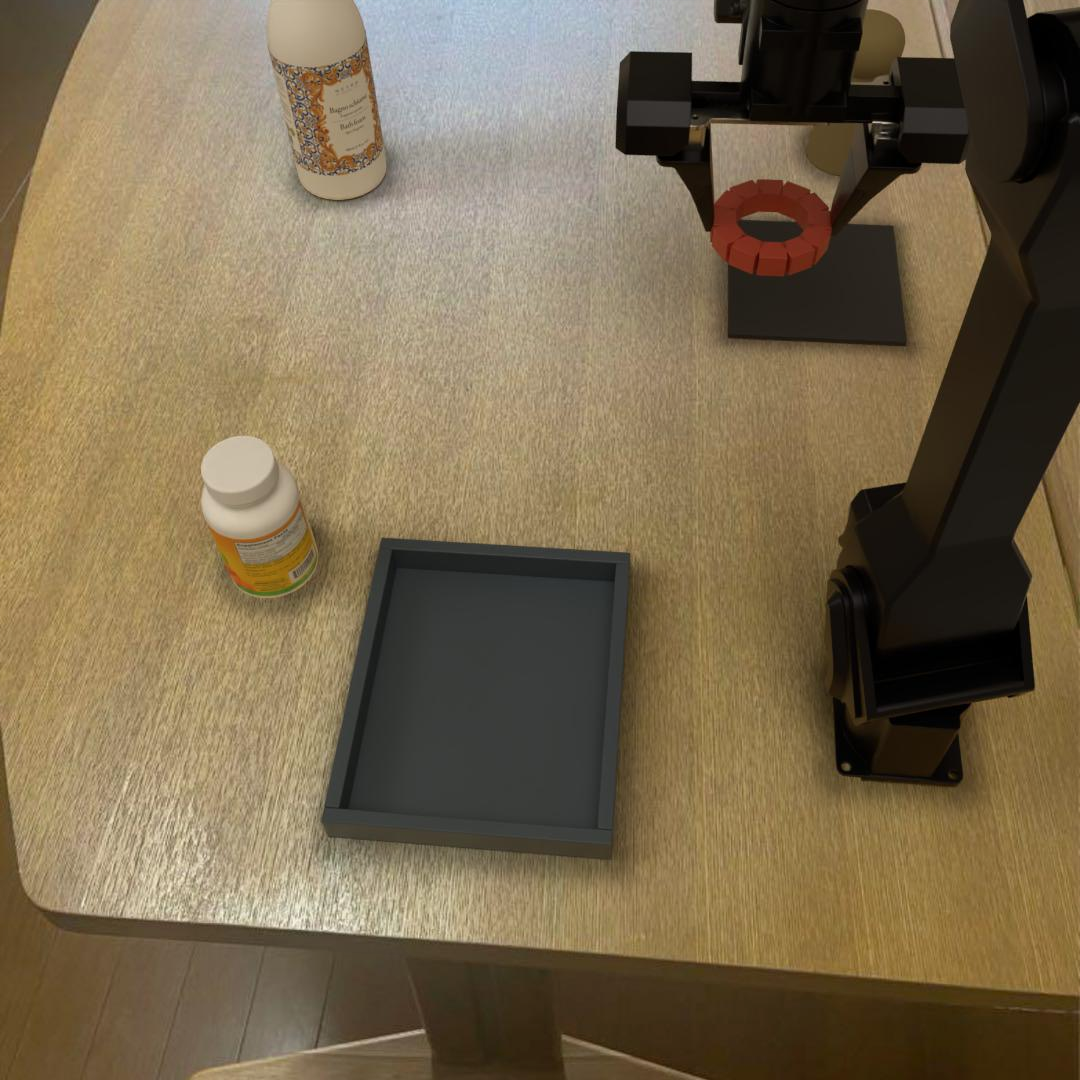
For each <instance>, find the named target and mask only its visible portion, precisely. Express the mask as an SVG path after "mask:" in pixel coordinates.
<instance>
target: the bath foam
mask: <svg viewBox="0 0 1080 1080" xmlns="http://www.w3.org/2000/svg"><path fill="white" fill-rule="evenodd" d="M265 26H266V27H265V28H266V30H265V31H266V32H265V33H266V41H267V42H266V43H267V50H268V54H269V58H270V62H271V66H272V71H273V75H274V79H275V83H276V87H277V92H278V97H279V100H280V105H281V109H282V113H283V119H284V121H285V126H286V130H287V131H286V132H287V134H288V139H289V144H290V147H291V152H292V156H293V160H294V164H295V168H296V172H297V175H298V180H299V181H300V184H302V186H303V187H304V189H305V190H307V191H308V192H309V193H310V194H312V195H313V196H316V197H319V198H321V199H324V200H333V201H343V200H350V199H355V198H358V197H361V196H364V195H365V194H368V193H369V192H371V191H373V190H374V189H376V188H377V187H378V186H379V185H380V183H381V182H382V181H383V180H384V177H385V175H386V173H387V157H386V151H385V150H386V149H385V144H384V137H383V131H382V125H381V118H380V112H379V105H378V98H377V92H376V87H375V80H374V74H373V69H372V62H371V54H370V49H369V44H368V43H369V42H368V37H367V31H366V28H365V24H364V21H363V18H362V15H361V13H360V10H359V8H358V6H357V4H356V3H355V0H270V1H269V4H268V9H267V14H266V25H265Z"/></svg>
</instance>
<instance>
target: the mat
mask: <svg viewBox="0 0 1080 1080" xmlns="http://www.w3.org/2000/svg"><path fill="white" fill-rule="evenodd" d="M737 225H738V226H739V227H740V228H741V229H742V231H743V232H744V233H745V234H746V235H748V236H751V237H753V238H756V239H758V240H760V241H763V242H785V241H788V240H791V239H793V238H796V237H799V236H800V235H801V234H802V232H803V231H804V230H803V229H802V228H801V227H800V226H799V225H798V223H797V222H796V221H785V220H783V221H781V220H762V219H761V220H759V219H758V220H756V219H740V220H739V222H738V223H737ZM727 268H728V269H727V281H728V282H727V338H728V339H747V340H767V341H769V340H771V341H791V342H814V343H832V344H834V343H835V344H855V345H856V344H857V345H877V346H899V347H900V346H902V347H906V346H907V343H908V339H907V332H906V322H905V315H904V314H905V313H904V305H903V297H902V287H901V279H900V271H899V261H898V253H897V244H896V234H895V227H894V225H891V224H890V225H889V224H863V223H848V224H847V225H846V226H845V227H844V228H843V229H842V230H841V231H840V232H839V233H838V234H837V235H836V236H830V241H829V245H828V248H827V251H826V252H825V253H824V254H823V256H822V257H821V258H820V259H819V261H818V262H817V263H816V264H815V265H814V264H812V267H811V268H808V269H805V270H802V271H800V272H797V273H794V274H792V275H788V274H787V273H786V272H785V275H784V276H758V275H757V270H755V271H754V273H753V274H750V273H748V272H745V271H743V270H740V269H738V268H736V267H733V266H731V265H729V261H727Z"/></svg>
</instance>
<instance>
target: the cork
mask: <svg viewBox="0 0 1080 1080" xmlns="http://www.w3.org/2000/svg"><path fill="white" fill-rule="evenodd" d="M862 30H863V34H862V39H861V43H860V48H859V51H858V53H857V57H856V62H855V67H854V71H853V76H852V81H851V82H873V80H874V79H875V78H876V77H878V76H882V75H889V72H890V68H891V64H892V62H893V61H894V60H895V59H896V58H897V57H903V53H904V50H905V46H906V33H905V29H904V27H903V24H902V23H901V21H900V20H899V19H898V18H897V17H896V16H893V15H892V14H891V13H889V12H886V11H882V10H879V9H868V8H867V10H866V15H865V20H864V24H863V29H862ZM855 124H856V123H830V124H829V125H828V126H812V128H811V131H810V134H809V137H808V140H807V143H806V147H805V153H806V158H807V159H808V160H809V162H810V163H811V164H812V165H814V166H815V167H816V168H817V169H819V170H821V171H823V172H825V173H827V174H829V175H833V176H834V175H835V176H838V177H841V174H842V171H843V168H844V165H845V162H846V159H847V156H848V152H849V149H850V146H851V143H852V140H853V135H854V130H855Z"/></svg>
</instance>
